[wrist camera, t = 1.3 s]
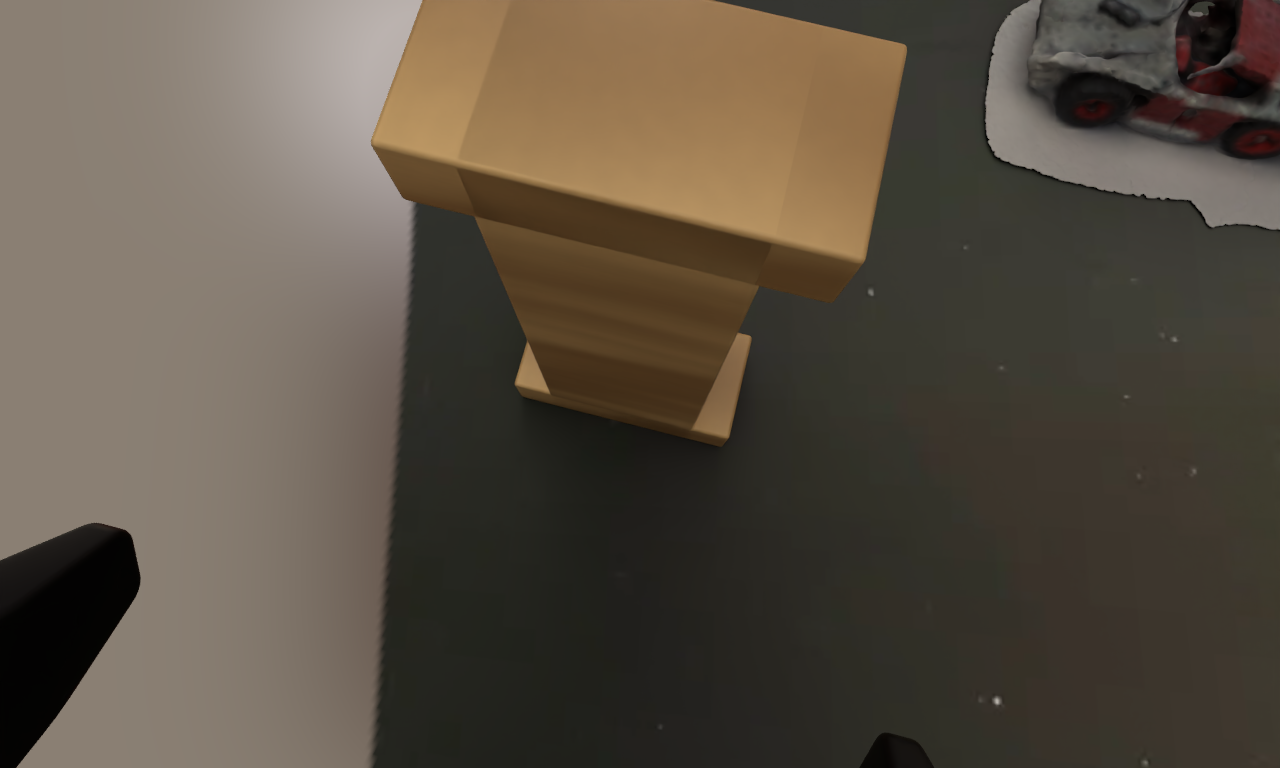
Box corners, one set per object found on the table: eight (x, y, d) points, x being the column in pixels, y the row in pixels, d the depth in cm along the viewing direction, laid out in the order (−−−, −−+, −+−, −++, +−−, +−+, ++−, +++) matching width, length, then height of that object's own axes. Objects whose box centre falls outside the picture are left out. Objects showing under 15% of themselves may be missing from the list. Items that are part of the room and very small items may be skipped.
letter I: (722, 447, 23) (866, 263, 9) (520, 396, 23) (366, 143, 9) (745, 350, 23) (909, 42, 10) (548, 301, 24) (443, -65, 10)
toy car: (970, -6, 26) (1015, -82, 23) (1326, 0, 27) (1417, -73, 24) (994, 229, 24) (1046, 181, 21) (1378, 235, 25) (1485, 187, 22)
